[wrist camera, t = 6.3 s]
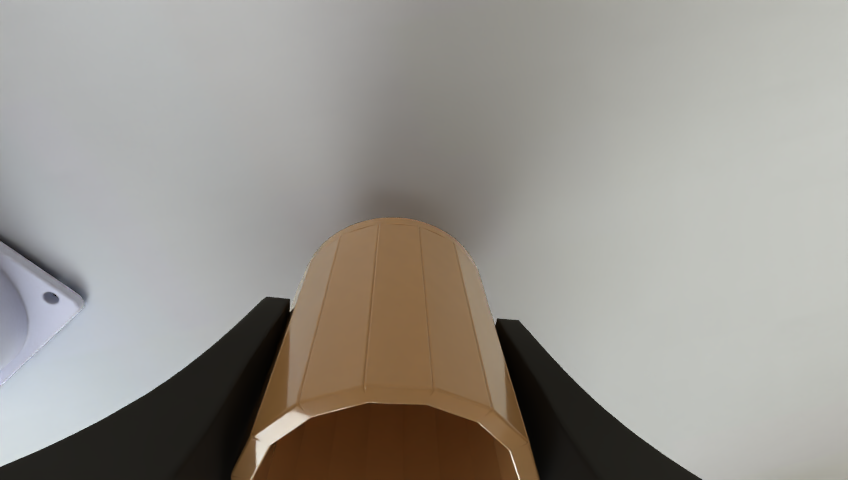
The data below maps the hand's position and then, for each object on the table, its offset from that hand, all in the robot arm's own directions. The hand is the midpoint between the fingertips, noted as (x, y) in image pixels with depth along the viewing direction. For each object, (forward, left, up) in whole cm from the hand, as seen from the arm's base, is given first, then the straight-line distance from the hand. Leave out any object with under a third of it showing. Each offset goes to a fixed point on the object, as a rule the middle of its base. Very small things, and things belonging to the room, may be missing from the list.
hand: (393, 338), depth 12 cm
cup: (0, 0, -2) cm, 2 cm away
